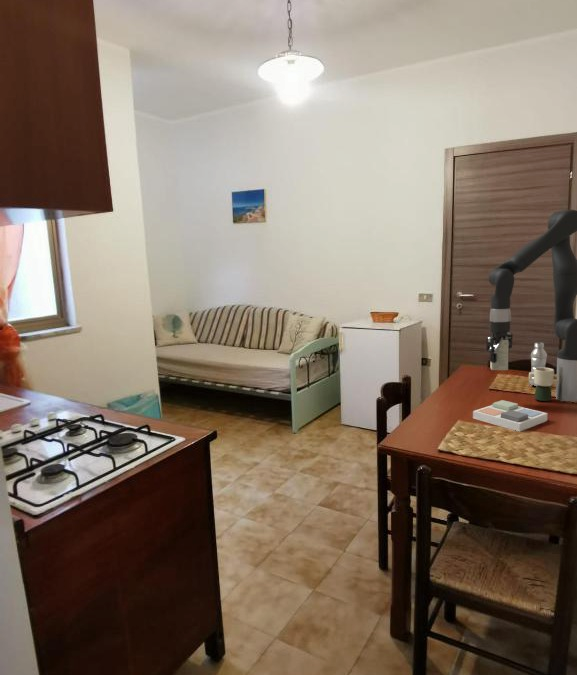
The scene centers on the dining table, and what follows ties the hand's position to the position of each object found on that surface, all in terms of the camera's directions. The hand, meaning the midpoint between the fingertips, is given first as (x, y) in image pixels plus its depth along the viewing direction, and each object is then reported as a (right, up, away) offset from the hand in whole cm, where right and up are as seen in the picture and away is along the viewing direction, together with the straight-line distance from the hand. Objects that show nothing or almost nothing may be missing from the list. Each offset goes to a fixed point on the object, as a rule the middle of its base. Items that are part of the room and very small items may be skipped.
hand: (499, 360), depth 191 cm
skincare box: (0, -4, +1) cm, 4 cm away
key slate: (+3, -20, -18) cm, 27 cm away
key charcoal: (-5, -19, -23) cm, 30 cm away
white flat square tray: (-3, -21, -16) cm, 26 cm away
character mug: (+20, -17, +5) cm, 26 cm away
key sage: (-2, -17, -11) cm, 20 cm away
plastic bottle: (+27, -13, +24) cm, 38 cm away
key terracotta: (-9, -20, -15) cm, 26 cm away
